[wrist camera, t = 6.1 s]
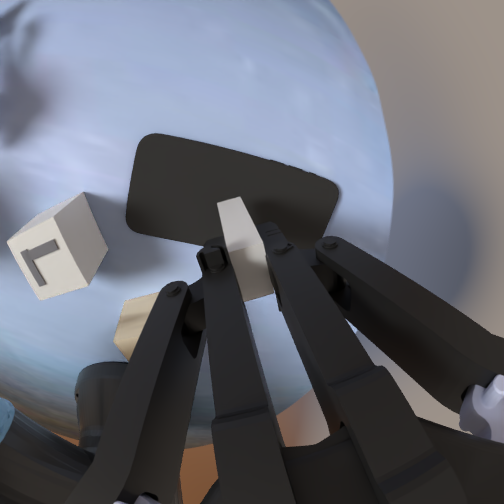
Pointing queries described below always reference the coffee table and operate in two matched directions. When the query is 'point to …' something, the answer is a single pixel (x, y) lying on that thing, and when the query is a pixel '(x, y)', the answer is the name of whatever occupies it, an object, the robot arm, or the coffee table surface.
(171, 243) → the coffee table surface
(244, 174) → the phone
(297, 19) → the coffee table surface
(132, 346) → the birch block
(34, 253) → the white block
